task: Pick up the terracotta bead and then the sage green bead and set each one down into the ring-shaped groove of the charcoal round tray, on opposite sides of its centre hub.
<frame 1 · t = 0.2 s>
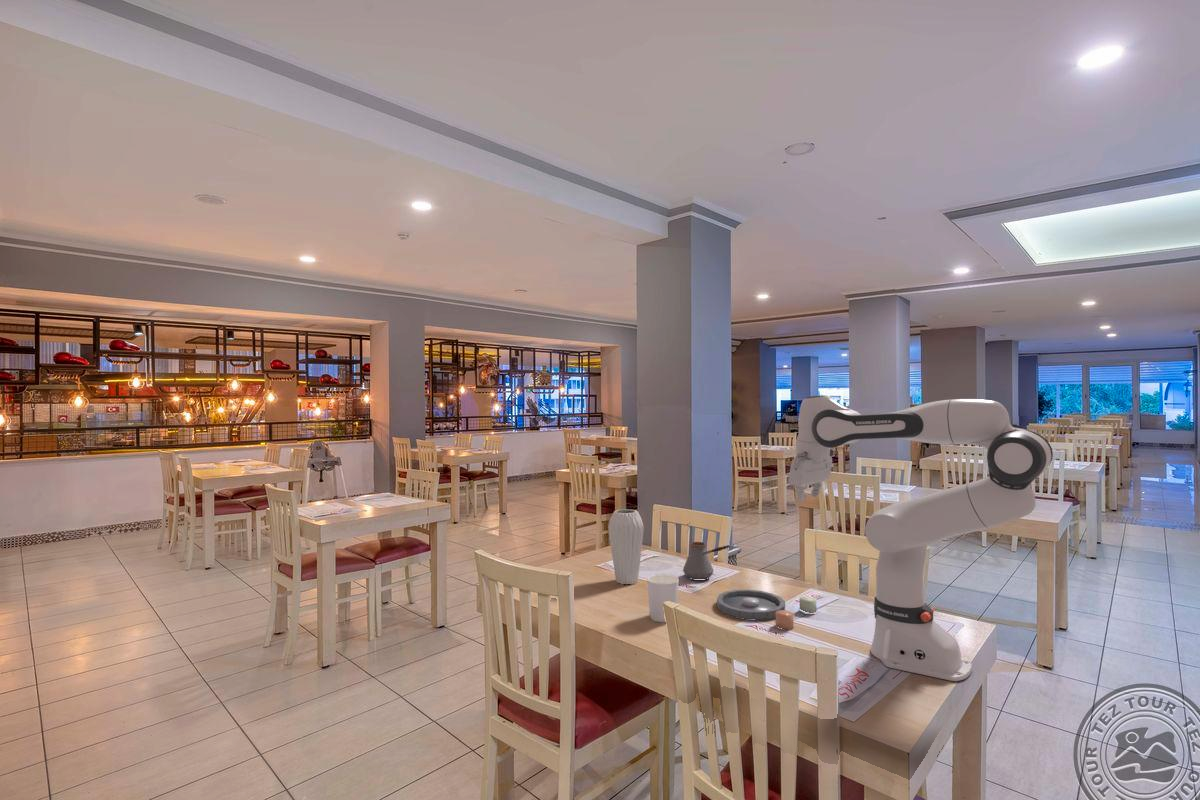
hand: (808, 498, 164), 38 cm above the table, tool pointing down, fingers open, 8 cm apart
sage bead: (808, 611, 178), on the table
vase: (627, 582, 212), on the table
terracotta bead: (784, 626, 167), on the table
white paper cup: (663, 618, 176), on the table
groove tray: (750, 607, 182), on the table
coffee pot: (708, 581, 211), on the table
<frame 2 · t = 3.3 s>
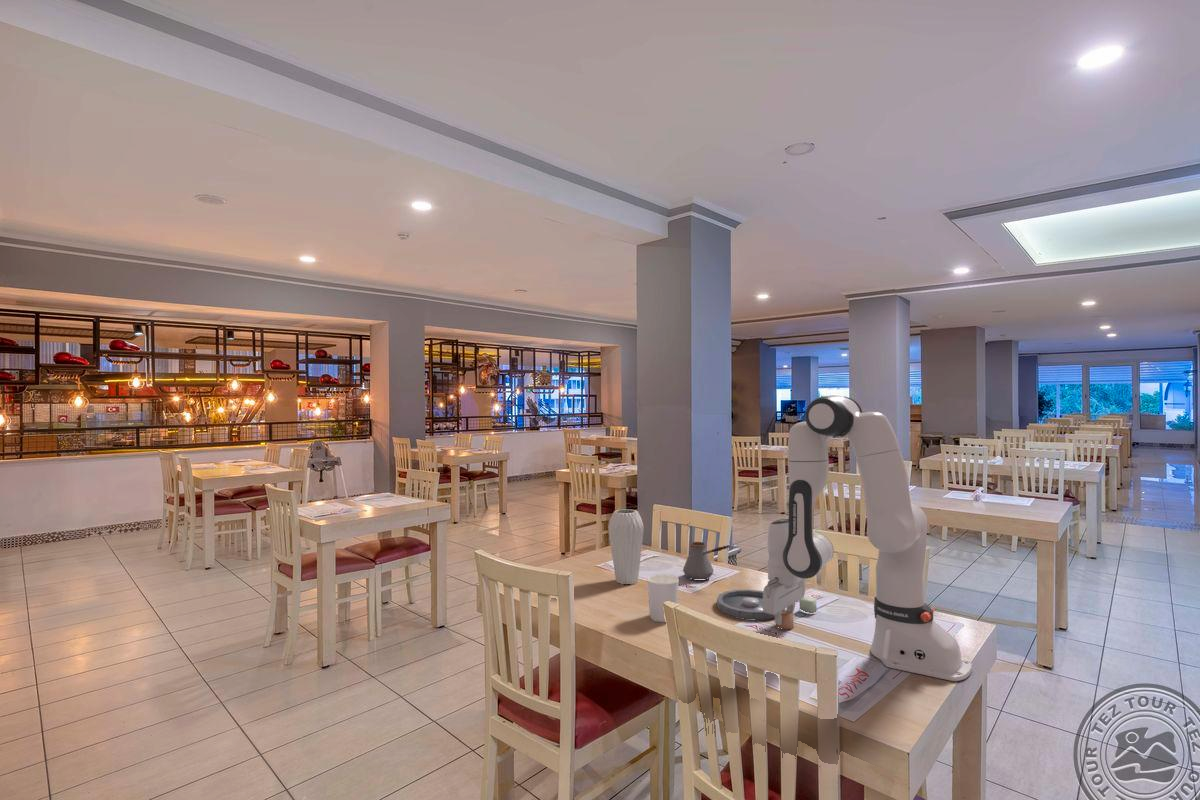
hand: (784, 620, 167), 2 cm above the table, tool pointing down, fingers closed on terracotta bead, 5 cm apart
terracotta bead: (784, 626, 167), on the table, touching gripper
everything else where it was.
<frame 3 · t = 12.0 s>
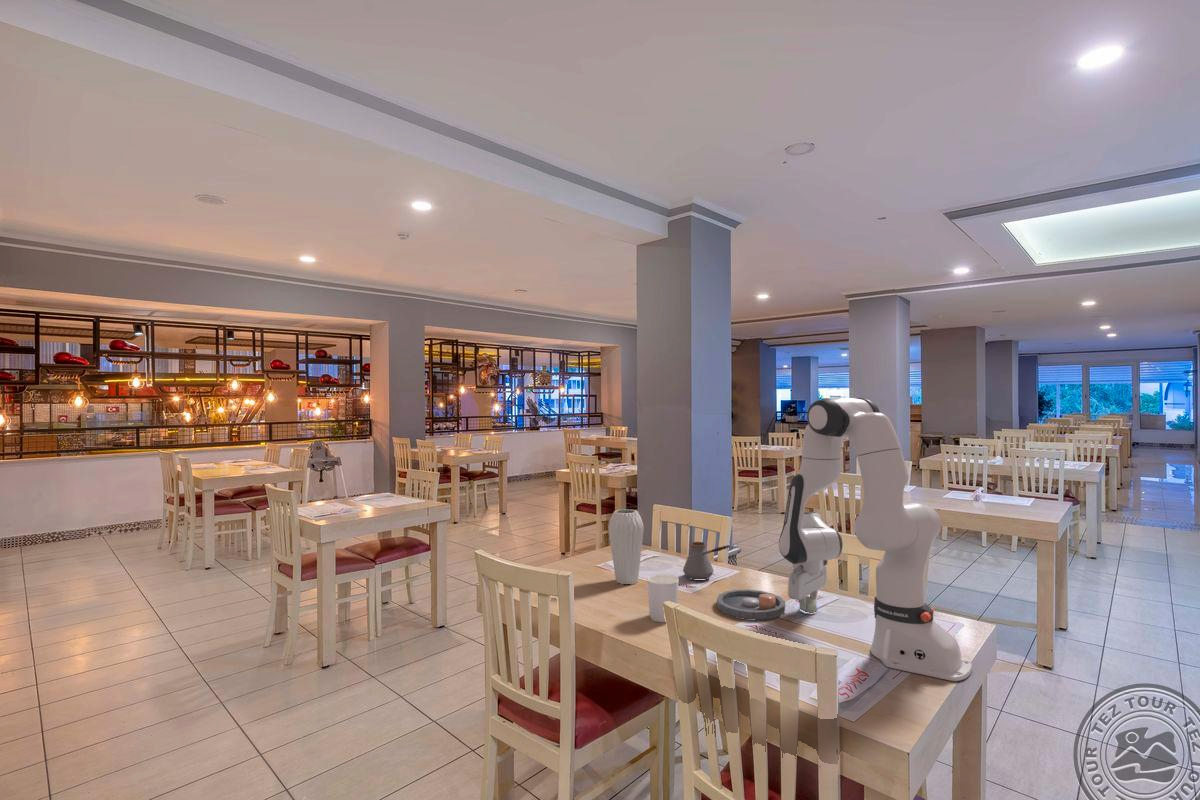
hand: (808, 606, 178), 2 cm above the table, tool pointing down, fingers closed on sage bead, 5 cm apart
sage bead: (808, 611, 178), on the table, touching gripper
terracotta bead: (767, 609, 178), point 1 cm above the table, touching groove tray
everything else where it was.
when the fingers open (4 cm above the table, at t = 17.4 s): sage bead stays where it is, resting on groove tray.
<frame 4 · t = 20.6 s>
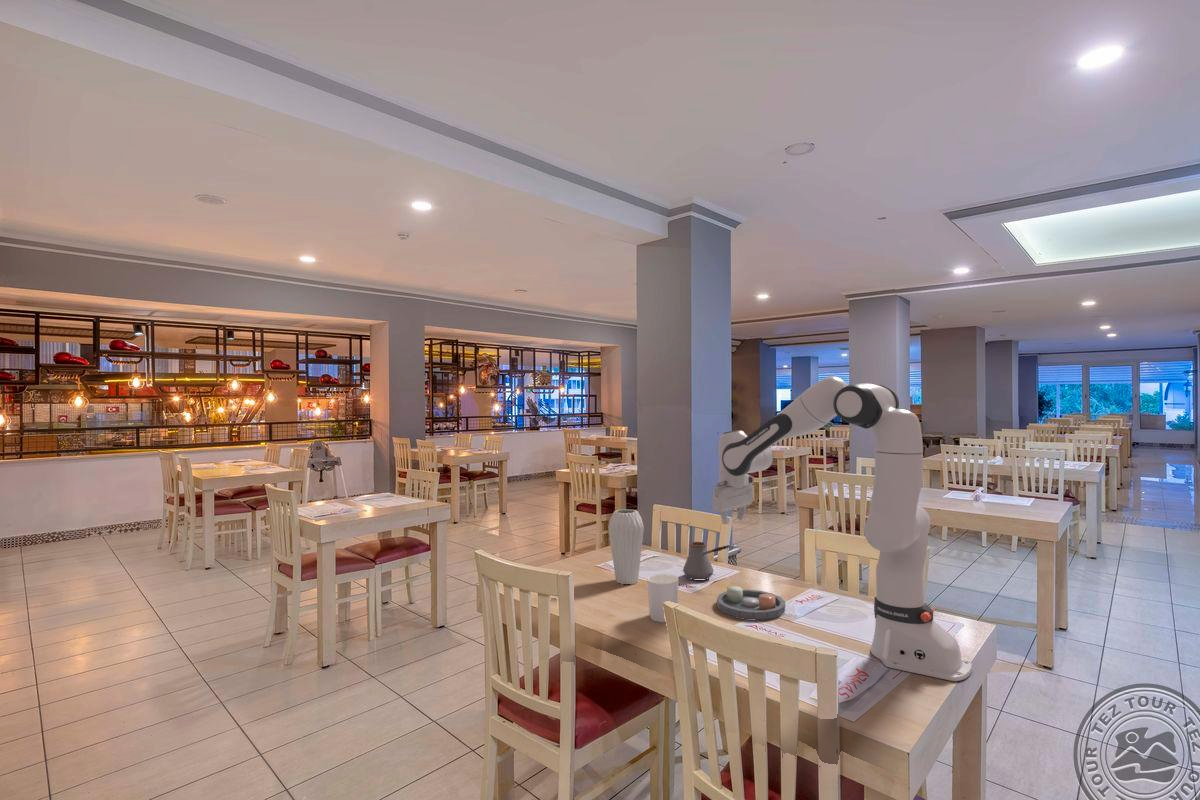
hand: (733, 521, 187), 27 cm above the table, tool pointing down, fingers open, 8 cm apart
sage bead: (735, 600, 186), point 1 cm above the table, touching groove tray
everything else where it was.
at the end: terracotta bead inside the target area on the groove tray (5.8 cm from its centre), point 1.0 cm above the groove tray's base; sage bead inside the target area on the groove tray (5.8 cm from its centre), point 1.0 cm above the groove tray's base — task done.
